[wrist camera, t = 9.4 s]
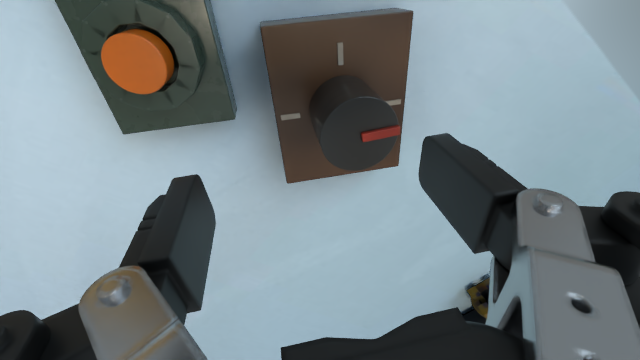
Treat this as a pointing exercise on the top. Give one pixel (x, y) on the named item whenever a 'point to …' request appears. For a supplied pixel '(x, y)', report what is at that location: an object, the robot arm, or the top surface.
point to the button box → (187, 50)
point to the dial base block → (325, 63)
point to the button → (137, 61)
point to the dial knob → (352, 123)
